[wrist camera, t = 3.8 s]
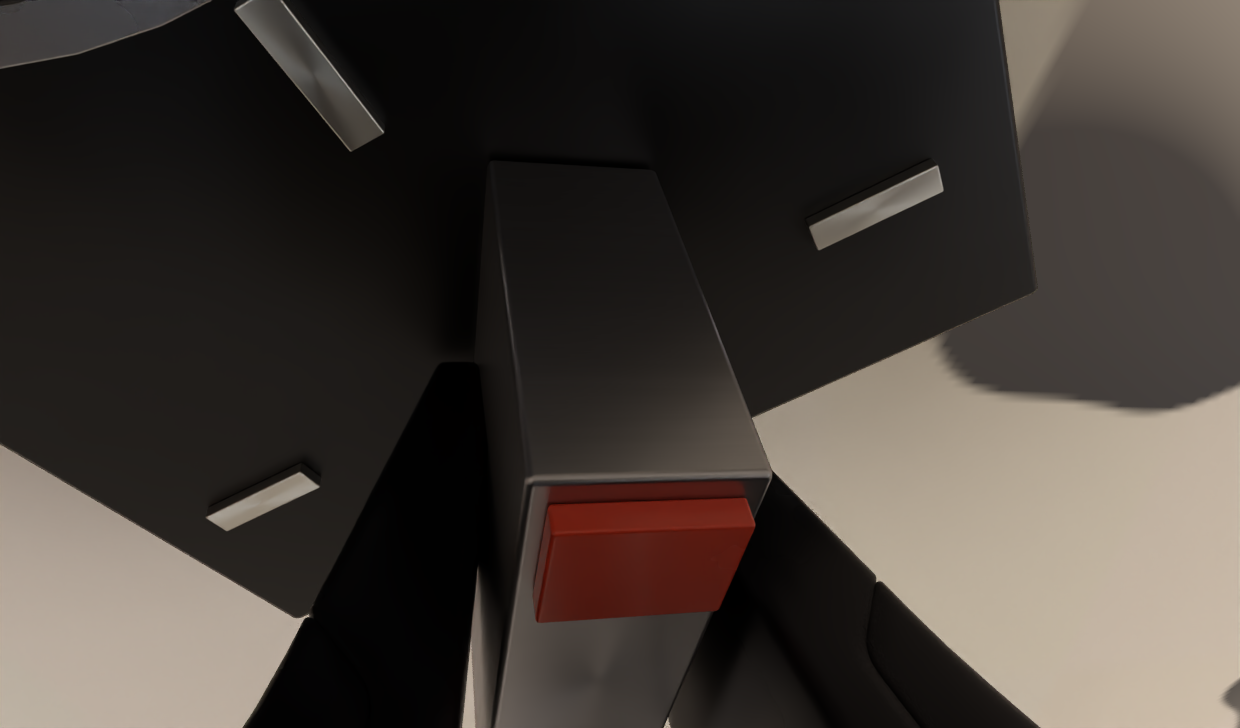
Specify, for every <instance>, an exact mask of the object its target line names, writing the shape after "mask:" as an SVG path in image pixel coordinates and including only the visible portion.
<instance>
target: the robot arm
mask: <svg viewBox="0 0 1240 728" xmlns="http://www.w3.org/2000/svg"><path fill="white" fill-rule="evenodd" d="M487 460H488V443H487V432H486V423H485V414H484V406H483V397H482V388H481V379H480V370H479V366H478V365H477V364H476V363H475V362H442V363H440V364H439V365H438V366H437V367H436V369H435V370H434V372H433V374H432V376H431V378H430V380H429V382H428V384H427V386H426V388H425V390H424V392H423V393H422V395H421V397H420V399H419V401H418V403H417V405H416V407H415V409H414V411H413V413H412V415H411V416H410V418H409V420H408V422H407V424H406V426H405V428H404V430H403V432H402V434H401V436H400V438H399V439H398V441H397V443H396V445H395V447H394V449H393V451H392V453H391V455H390V457H389V459H388V461H387V462H386V464H385V466H384V468H383V470H382V472H381V474H380V476H379V478H378V480H377V482H376V484H375V485H374V487H373V489H372V491H371V493H370V495H369V497H368V499H367V501H366V503H365V505H364V507H363V508H362V510H361V512H360V514H359V516H358V518H357V520H356V522H355V524H354V526H353V528H352V530H351V531H350V533H349V535H348V537H347V539H346V541H345V543H344V545H343V547H342V549H341V551H340V553H339V554H338V556H337V558H336V560H335V562H334V564H333V566H332V568H331V570H330V572H329V574H328V576H327V577H326V579H325V581H324V583H323V585H322V587H321V589H320V591H319V593H318V595H317V597H316V599H315V600H314V602H313V604H312V606H311V608H310V610H309V617H307V618H305V619H304V621H303V623H302V624H301V626H300V628H299V630H298V632H297V634H296V636H295V638H294V640H293V642H292V644H291V645H290V647H289V649H288V651H287V653H286V655H285V657H284V658H283V660H282V662H281V664H280V666H279V667H278V669H277V671H276V673H275V674H274V676H273V678H272V680H271V681H270V683H269V685H268V687H267V689H266V690H265V692H264V694H263V696H262V697H261V699H260V701H259V703H258V704H257V706H256V708H255V709H254V711H253V713H252V714H251V716H250V717H249V719H248V720H247V722H246V723H245V725H244V726H243V728H462V723H463V713H464V703H465V693H466V682H467V672H468V662H469V652H470V642H471V632H472V622H473V612H474V602H475V592H476V582H477V571H478V560H479V549H480V538H481V528H482V517H483V506H484V495H485V484H486V473H487ZM754 521H755V529H754V531H753V534H752V536H751V538H750V540H749V543H748V545H747V547H746V549H745V552H744V554H743V556H742V558H741V561H740V563H739V565H738V568H737V570H736V572H735V574H734V577H733V579H732V581H731V583H730V586H729V588H728V590H727V592H726V595H725V597H724V599H723V601H722V604H721V606H720V608H719V610H717V611H714V612H713V615H712V617H711V619H710V622H709V624H708V626H707V628H706V631H705V633H704V635H703V638H702V640H701V642H700V645H699V647H698V649H697V651H696V654H695V656H694V658H693V661H692V663H691V665H690V667H689V670H688V672H687V674H686V677H685V679H684V681H683V684H682V686H681V688H680V690H679V693H678V695H677V697H676V700H675V702H674V704H673V706H672V709H671V711H670V713H669V716H668V718H669V722H670V727H671V728H1040V727H1039V726H1038V725H1037V724H1035V723H1034V722H1033V721H1032V720H1031V719H1030V718H1028V717H1027V716H1026V715H1025V714H1024V713H1023V712H1021V711H1020V710H1019V709H1018V708H1017V707H1016V706H1014V705H1013V704H1012V703H1011V702H1010V701H1009V700H1007V699H1006V698H1005V697H1004V696H1003V695H1002V694H1000V693H999V692H998V691H997V690H996V689H995V688H994V687H992V686H991V685H990V684H989V683H988V682H987V681H986V680H985V679H983V678H982V677H981V676H980V675H979V674H978V673H977V672H976V671H974V670H973V669H972V668H971V667H970V666H969V665H968V664H967V663H966V662H964V661H963V660H962V659H961V658H960V657H959V656H958V655H957V654H955V653H954V652H953V651H952V650H951V649H950V648H949V647H948V646H947V645H946V644H945V643H944V642H943V641H941V640H940V639H939V638H938V637H937V636H936V635H935V634H934V633H933V632H932V631H931V630H930V629H929V628H928V627H927V626H926V625H925V624H924V623H923V622H922V621H921V620H920V619H919V618H918V617H917V616H916V615H915V614H914V613H913V612H912V611H911V610H910V609H909V608H908V607H907V606H906V605H905V604H904V603H903V602H902V601H901V600H900V599H899V598H898V597H897V596H896V595H895V594H894V593H893V592H892V591H891V590H890V589H889V588H888V587H887V586H886V585H885V584H884V583H883V582H881V581H878V582H876V576H875V574H874V573H873V572H872V571H871V570H870V569H869V568H868V567H867V566H866V565H865V564H864V563H863V562H862V561H861V560H860V559H859V558H858V557H857V556H856V555H855V554H854V553H853V552H852V551H851V550H850V549H849V548H848V547H847V546H846V545H845V544H844V543H843V542H842V541H841V540H840V539H839V538H838V537H837V536H836V535H835V534H834V533H833V532H832V531H831V530H830V528H829V527H828V526H827V525H826V524H825V523H824V522H823V521H822V520H821V519H820V518H819V517H818V516H817V515H816V514H815V513H814V512H813V511H812V510H811V509H810V508H809V507H808V506H807V505H806V504H805V503H804V502H803V501H802V500H801V499H800V498H799V497H798V496H797V495H796V494H795V493H794V492H793V491H792V490H791V489H790V488H789V487H788V486H787V485H786V484H785V483H784V482H783V481H782V480H781V479H780V478H779V477H778V476H777V475H776V474H775V473H774V472H773V471H772V479H771V482H770V484H769V486H768V489H767V491H766V493H765V495H764V498H763V500H762V502H761V505H760V507H759V509H758V511H757V514H756V516H755V518H754Z"/></svg>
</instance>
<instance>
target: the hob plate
mask: <svg viewBox="0 0 1240 728" xmlns="http://www.w3.org/2000/svg"><path fill="white" fill-rule="evenodd" d="M211 1H213V0H0V69H2V68H7V67H13V66H18V65H24V64H29V63H34V62H40V61H45V60H51V59H56V58H62V57H67V56H72V55H78V54H81V53H84V52H87V51H90V50H93V49H96V48H99V47H102V46H105V45H108V44H111V43H114V42H117V41H120V40H123V39H126V38H129V37H132V36H135V35H138V34H141V33H144V32H147V31H150V30H153V29H156V28H159V27H162V26H164V25H166V24H168V23H170V22H172V21H174V20H176V19H178V18H180V17H182V16H184V15H186V14H188V13H189V12H191V11H193V10H195V9H197V8H199V7H201V6H203V5H205V4H207V3H209V2H211Z"/></svg>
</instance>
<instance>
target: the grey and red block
mask: <svg viewBox="0 0 1240 728" xmlns="http://www.w3.org/2000/svg"><path fill="white" fill-rule="evenodd" d="M474 362H475V363H476V364H477V365H478V366H479V370H480V379H481V388H482V397H483V406H484V414H485V423H486V432H487V443H488V460H487V473H486V484H485V495H484V506H483V517H482V528H481V538H480V549H479V560H478V571H477V582H476V592H475V602H474V612H473V622H472V632H471V647H472V667H473V687H474V707H475V727H476V728H663V727H664V725H665V723H666V720H667V718H668V716H669V713H670V711H671V709H672V706H673V704H674V702H675V700H676V697H677V695H678V693H679V690H680V688H681V686H682V684H683V681H684V679H685V677H686V674H687V672H688V670H689V667H690V665H691V663H692V661H693V658H694V656H695V654H696V651H697V649H698V647H699V645H700V642H701V640H702V638H703V635H704V633H705V631H706V628H707V626H708V624H709V622H710V619H711V617H712V615H713V612H714V611H717V610H719V608H720V606H721V604H722V601H723V599H724V597H725V595H726V592H727V590H728V588H729V586H730V583H731V581H732V579H733V577H734V574H735V572H736V570H737V568H738V565H739V563H740V561H741V558H742V556H743V554H744V552H745V549H746V547H747V545H748V543H749V540H750V538H751V536H752V534H753V531H754V529H755V521H754V518H755V516H756V514H757V511H758V509H759V507H760V505H761V502H762V500H763V498H764V495H765V493H766V491H767V489H768V486H769V484H770V482H771V479H772V469H771V466H770V464H769V461H768V459H767V456H766V454H765V451H764V448H763V446H762V443H761V441H760V438H759V436H758V433H757V431H756V428H755V425H754V423H753V420H752V418H751V415H750V413H749V410H748V408H747V405H746V402H745V400H744V397H743V395H742V392H741V390H740V387H739V385H738V382H737V379H736V377H735V374H734V372H733V369H732V367H731V364H730V362H729V359H728V356H727V354H726V351H725V349H724V346H723V344H722V341H721V338H720V336H719V333H718V331H717V328H716V326H715V323H714V321H713V318H712V315H711V313H710V310H709V308H708V305H707V303H706V300H705V298H704V295H703V292H702V290H701V287H700V285H699V282H698V280H697V277H696V275H695V272H694V269H693V267H692V264H691V262H690V259H689V257H688V254H687V252H686V249H685V246H684V244H683V241H682V239H681V236H680V234H679V231H678V228H677V226H676V223H675V221H674V218H673V216H672V213H671V211H670V208H669V205H668V203H667V200H666V198H665V195H664V193H663V190H662V188H661V185H660V182H659V180H658V177H657V175H656V172H654V171H652V170H644V169H627V168H611V167H595V166H578V165H562V164H546V163H529V162H513V161H496V160H493V161H490V163H489V164H488V166H487V179H486V194H485V208H484V223H483V237H482V252H481V266H480V281H479V296H478V310H477V325H476V339H475V354H474Z"/></svg>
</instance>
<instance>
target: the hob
mask: <svg viewBox="0 0 1240 728" xmlns="http://www.w3.org/2000/svg"><path fill="white" fill-rule="evenodd" d="M493 160H496V161H513V162H529V163H546V164H562V165H578V166H595V167H611V168H627V169H644V170H652V171H654V172H656V175H657V177H658V180H659V182H660V185H661V188H662V190H663V193H664V195H665V198H666V200H667V203H668V205H669V208H670V211H671V213H672V216H673V218H674V221H675V223H676V226H677V228H678V231H679V234H680V236H681V239H682V241H683V244H684V246H685V249H686V252H687V254H688V257H689V259H690V262H691V264H692V267H693V269H694V272H695V275H696V277H697V280H698V282H699V285H700V287H701V290H702V292H703V295H704V298H705V300H706V303H707V305H708V308H709V310H710V313H711V315H712V318H713V321H714V323H715V326H716V328H717V331H718V333H719V336H720V338H721V341H722V344H723V346H724V349H725V351H726V354H727V356H728V359H729V362H730V364H731V367H732V369H733V372H734V374H735V377H736V379H737V382H738V385H739V387H740V390H741V392H742V395H743V397H744V400H745V402H746V405H747V408H748V410H749V413H750V415H751V418H753V417H755V416H758V415H760V414H762V413H764V412H767V411H769V410H771V409H773V408H776V407H778V406H780V405H782V404H785V403H787V402H789V401H791V400H794V399H796V398H798V397H800V396H803V395H805V394H807V393H809V392H812V391H814V390H816V389H819V388H821V387H823V386H825V385H828V384H830V383H832V382H834V381H837V380H839V379H841V378H843V377H846V376H848V375H850V374H852V373H855V372H857V371H859V370H861V369H864V368H866V367H868V366H870V365H873V364H875V363H877V362H880V361H882V360H884V359H886V358H889V357H891V356H893V355H895V354H898V353H900V352H902V351H904V350H907V349H909V348H911V347H913V346H916V345H918V344H920V343H922V342H925V341H927V340H929V339H931V338H934V337H936V336H938V335H941V334H943V333H945V332H947V331H950V330H952V329H954V328H956V327H958V326H961V325H963V324H965V323H968V322H970V321H972V320H974V319H977V318H979V317H981V316H983V315H986V314H988V313H990V312H992V311H994V310H997V309H999V308H1001V307H1004V306H1006V305H1008V304H1010V303H1013V302H1015V301H1017V300H1019V299H1022V298H1024V297H1026V296H1029V295H1031V294H1033V293H1034V292H1035V291H1037V288H1038V286H1037V279H1036V272H1035V265H1034V258H1033V250H1032V242H1031V235H1030V227H1029V220H1028V212H1027V205H1026V198H1025V190H1024V183H1023V175H1022V169H1021V161H1020V153H1019V146H1018V138H1017V131H1016V124H1015V116H1014V109H1013V101H1012V94H1011V87H1010V79H1009V72H1008V64H1007V57H1006V50H1005V42H1004V35H1003V28H1002V20H1001V13H1000V5H999V0H213V1H211V2H209V3H207V4H205V5H203V6H201V7H199V8H197V9H195V10H193V11H191V12H189V13H188V14H186V15H184V16H182V17H180V18H178V19H176V20H174V21H172V22H170V23H168V24H166V25H164V26H162V27H159V28H156V29H153V30H150V31H147V32H144V33H141V34H138V35H135V36H132V37H129V38H126V39H123V40H120V41H117V42H114V43H111V44H108V45H105V46H102V47H99V48H96V49H93V50H90V51H87V52H84V53H81V54H78V55H72V56H67V57H62V58H56V59H51V60H45V61H40V62H34V63H29V64H24V65H18V66H13V67H7V68H2V69H0V444H1V445H2V446H4V447H6V448H8V449H9V450H11V451H13V452H14V453H16V454H18V455H19V456H21V457H23V458H24V459H26V460H28V461H30V462H31V463H33V464H35V465H36V466H38V467H40V468H41V469H43V470H45V471H47V472H48V473H50V474H52V475H53V476H55V477H57V478H58V479H60V480H62V481H63V482H65V483H67V484H69V485H70V486H72V487H74V488H75V489H77V490H79V491H80V492H82V493H84V494H85V495H87V496H89V497H91V498H92V499H94V500H96V501H97V502H99V503H101V504H102V505H104V506H106V507H107V508H109V509H111V510H113V511H114V512H116V513H118V514H119V515H121V516H123V517H124V518H126V519H128V520H129V521H131V522H133V523H135V524H136V525H138V526H140V527H141V528H143V529H145V530H146V531H148V532H150V533H151V534H153V535H155V536H157V537H158V538H160V539H162V540H163V541H165V542H167V543H168V544H170V545H172V546H174V547H175V548H177V549H179V550H180V551H182V552H184V553H185V554H187V555H189V556H190V557H192V558H194V559H196V560H197V561H199V562H201V563H202V564H204V565H206V566H207V567H209V568H211V569H212V570H214V571H216V572H218V573H219V574H221V575H223V576H224V577H226V578H228V579H229V580H231V581H233V582H234V583H236V584H238V585H240V586H241V587H243V588H245V589H246V590H248V591H250V592H251V593H253V594H255V595H256V596H258V597H260V598H262V599H263V600H265V601H267V602H268V603H270V604H272V605H273V606H275V607H277V608H278V609H280V610H282V611H284V612H285V613H287V614H289V615H290V616H292V617H294V618H301V617H303V616H306V615H308V614H309V610H310V608H311V606H312V604H313V602H314V600H315V599H316V597H317V595H318V593H319V591H320V589H321V587H322V585H323V583H324V581H325V579H326V577H327V576H328V574H329V572H330V570H331V568H332V566H333V564H334V562H335V560H336V558H337V556H338V554H339V553H340V551H341V549H342V547H343V545H344V543H345V541H346V539H347V537H348V535H349V533H350V531H351V530H352V528H353V526H354V524H355V522H356V520H357V518H358V516H359V514H360V512H361V510H362V508H363V507H364V505H365V503H366V501H367V499H368V497H369V495H370V493H371V491H372V489H373V487H374V485H375V484H376V482H377V480H378V478H379V476H380V474H381V472H382V470H383V468H384V466H385V464H386V462H387V461H388V459H389V457H390V455H391V453H392V451H393V449H394V447H395V445H396V443H397V441H398V439H399V438H400V436H401V434H402V432H403V430H404V428H405V426H406V424H407V422H408V420H409V418H410V416H411V415H412V413H413V411H414V409H415V407H416V405H417V403H418V401H419V399H420V397H421V395H422V393H423V392H424V390H425V388H426V386H427V384H428V382H429V380H430V378H431V376H432V374H433V372H434V370H435V369H436V367H437V366H438V365H439V364H440V363H442V362H474V354H475V339H476V325H477V310H478V296H479V281H480V266H481V252H482V237H483V223H484V208H485V194H486V179H487V166H488V164H489V163H490V161H493Z"/></svg>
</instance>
